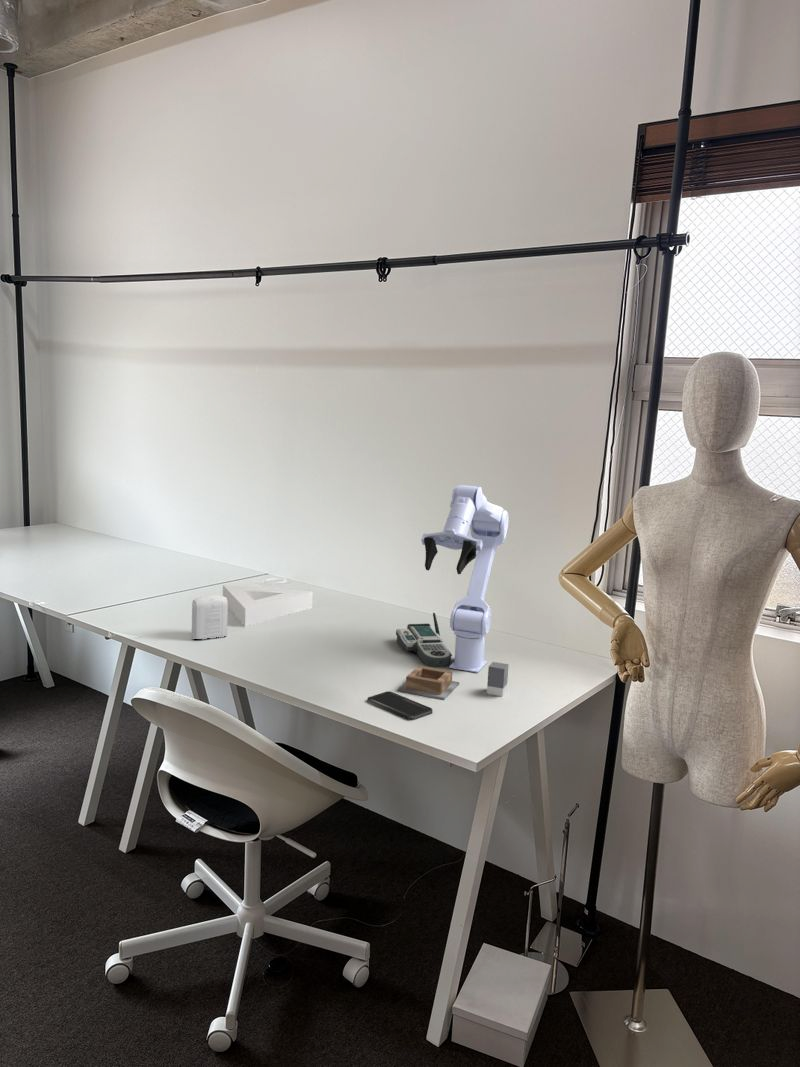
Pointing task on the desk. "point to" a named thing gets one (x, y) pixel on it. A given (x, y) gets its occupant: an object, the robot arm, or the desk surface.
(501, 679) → the connector plug
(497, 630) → the desk surface
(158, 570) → the desk surface
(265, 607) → the triangle block
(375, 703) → the phone
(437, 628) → the communication device
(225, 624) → the white upright block
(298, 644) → the desk surface
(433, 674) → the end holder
